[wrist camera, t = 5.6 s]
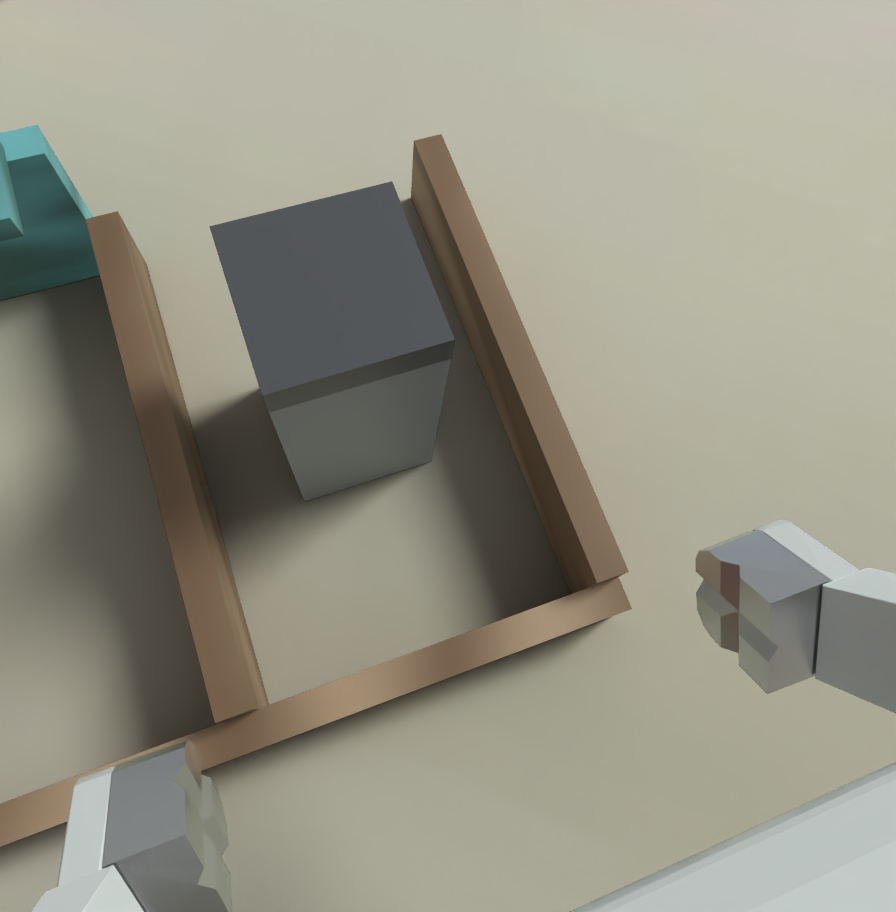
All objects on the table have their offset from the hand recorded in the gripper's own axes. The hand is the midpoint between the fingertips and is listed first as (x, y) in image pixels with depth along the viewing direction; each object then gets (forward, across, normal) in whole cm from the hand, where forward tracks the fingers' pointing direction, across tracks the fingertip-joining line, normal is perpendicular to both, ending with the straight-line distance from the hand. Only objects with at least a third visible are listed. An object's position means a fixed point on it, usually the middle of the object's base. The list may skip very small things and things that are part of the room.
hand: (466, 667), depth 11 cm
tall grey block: (+15, 0, +2) cm, 15 cm away
